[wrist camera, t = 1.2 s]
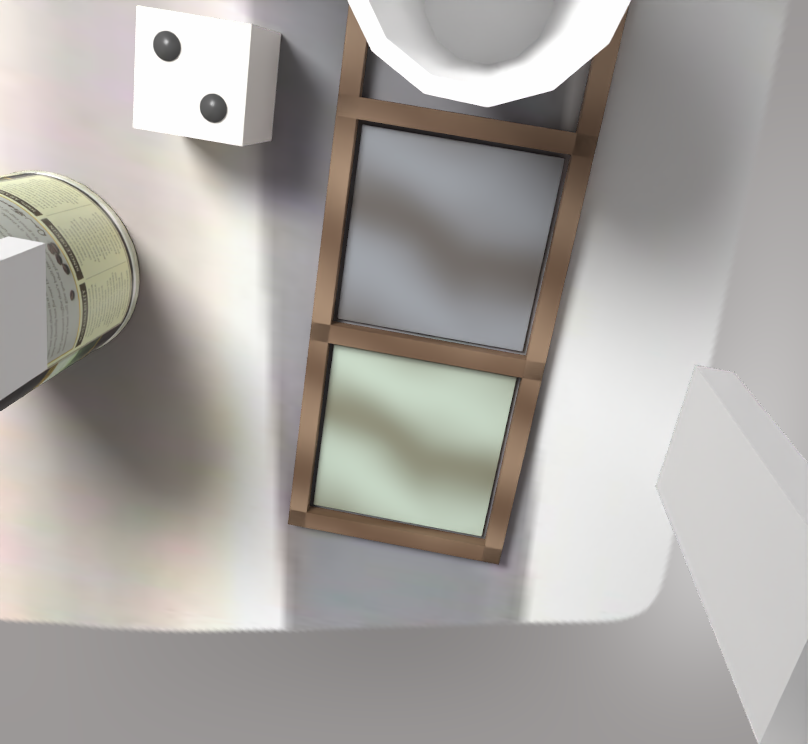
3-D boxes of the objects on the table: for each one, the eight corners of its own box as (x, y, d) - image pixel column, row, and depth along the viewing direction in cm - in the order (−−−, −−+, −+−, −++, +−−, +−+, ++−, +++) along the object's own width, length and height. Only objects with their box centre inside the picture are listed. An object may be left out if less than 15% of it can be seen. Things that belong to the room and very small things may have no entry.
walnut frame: (374, -184, 33) (371, -190, 33) (660, -141, 33) (664, -146, 32) (291, 517, 46) (287, 524, 45) (498, 556, 45) (498, 564, 44)
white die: (180, 17, 37) (135, 5, 32) (281, 33, 37) (251, 23, 32) (175, 124, 39) (132, 127, 34) (271, 140, 39) (241, 146, 34)
